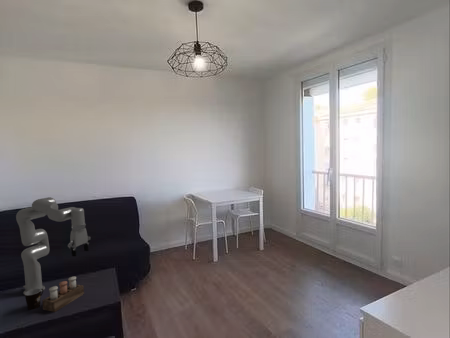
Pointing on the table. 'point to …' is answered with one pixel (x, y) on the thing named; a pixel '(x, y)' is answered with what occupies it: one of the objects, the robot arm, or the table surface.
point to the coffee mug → (33, 298)
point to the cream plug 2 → (72, 282)
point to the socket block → (63, 299)
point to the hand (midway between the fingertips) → (80, 253)
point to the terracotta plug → (63, 287)
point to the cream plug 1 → (53, 293)
